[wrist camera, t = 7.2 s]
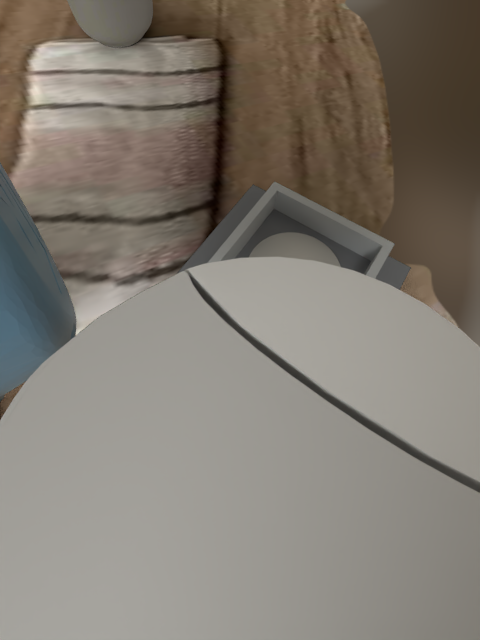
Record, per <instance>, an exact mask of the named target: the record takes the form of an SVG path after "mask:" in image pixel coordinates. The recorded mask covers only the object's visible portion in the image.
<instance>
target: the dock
mask: <svg viewBox="0 0 480 640" xmlns="http://www.w3.org/2000/svg"><path fill="white" fill-rule="evenodd" d="M393 246H394V243H392V242H390V241H388V240H386V239H384V238H383V237H381V236H379V235H377V234H375V233H373V232H371V231H369V230H367V229H365V228H363V227H361V226H359V225H357V224H356V223H354V222H352V221H350V220H348V219H346V218H344V217H342V216H340V215H338V214H336V213H334V212H332V211H331V210H329V209H327V208H325V207H323V206H321V205H319V204H317V203H315V202H313V201H311V200H309V199H307V198H305V197H304V196H302V195H300V194H298V193H296V192H294V191H292V190H290V189H288V188H286V187H284V186H282V185H280V184H278V183H277V182H275V181H274V183H273V184H272V185H271V186H270V188H269V189H268V190H267V191H265V190H263V189H261V188H259V187H257V186H255V185H252V186H251V187H250V189H249V190H248V191H247V192H246V193H245V194H244V196H243V197H242V198H241V199H240V200H239V201H238V203H237V204H236V205H235V206H234V207H233V208H232V210H231V211H230V212H229V213H228V214H227V215H226V217H225V218H224V219H223V220H222V221H221V222H220V224H219V225H218V226H217V227H216V228H215V230H214V231H213V232H212V233H211V234H210V235H209V237H208V238H207V239H206V240H205V241H204V242H203V244H202V245H201V246H200V247H199V248H198V249H197V251H196V252H195V253H194V254H193V255H192V256H191V258H190V259H189V260H188V261H187V262H186V263H185V265H184V266H183V267H182V268H181V269H180V270H179V272H178V273H180V272H182V271H184V270H186V269H189V268H192V267H195V266H198V265H201V264H206V263H212V262H218V261H224V260H230V259H236V258H250V257H285V258H294V259H303V260H312V261H318V262H322V263H326V264H330V265H334V266H338V267H342V268H346V269H350V270H354V271H356V272H359V273H361V274H364V275H366V276H369V277H372V278H374V279H377V280H379V281H382V282H384V283H387V284H389V285H391V286H393V287H395V288H397V289H399V290H400V288H401V286H402V284H403V282H404V280H405V278H406V276H407V274H408V272H409V270H410V269H411V268H410V267H409V266H407V265H405V264H403V263H401V262H399V261H397V260H395V259H393V258H392V257H390V256H388V255H389V253H390V251H391V250H392V248H393ZM178 273H177V274H178Z"/></svg>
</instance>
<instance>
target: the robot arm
mask: <svg viewBox="0 0 480 640" xmlns="http://www.w3.org/2000/svg"><path fill="white" fill-rule="evenodd" d="M75 334H76V315H75V311H74V307H73V304H72V301H71V298H70V296H69V293H68V291H67V288H66V286H65V284H64V281H63V279H62V277H61V275H60V273H59V271H58V269H57V267H56V265H55V263H54V261H53V258H52V256H51V254H50V252H49V250H48V248H47V246H46V245H45V243H44V241H43V239H42V237H41V235H40V233H39V231H38V229H37V227H36V225H35V224H34V222H33V220H32V218H31V216H30V214H29V213H28V211H27V209H26V207H25V205H24V203H23V202H22V200H21V198H20V196H19V195H18V193H17V191H16V189H15V187H14V186H13V184H12V182H11V180H10V179H9V177H8V175H7V173H6V172H5V170H4V168H3V167H2V165H1V163H0V401H1V400H2V399H3V398H4V395H5V394H6V393H8V392H9V391H11V390H13V389H14V388H16V387H17V386H19V385H20V384H22V383H24V382H25V381H27V380H28V378H29V377H30V376H31V375H32V374H33V373H34V372H35V371H36V370H37V369H38V368H39V367H40V365H41V364H42V363H43V362H44V361H46V360H47V359H48V358H49V357H50V356H52V355H53V354H54V353H55V352H56V351H58V350H59V349H60V348H61V347H63V346H64V345H65V344H66V343H67V342H69V341H70V340H71V339H72V338H74V337H75Z"/></svg>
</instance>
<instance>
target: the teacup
mask: <svg viewBox="0 0 480 640" xmlns="http://www.w3.org/2000/svg"><path fill="white" fill-rule="evenodd" d="M67 1H68V3H69V6H70V8H71V10H72V12H73V15H74V17H75V19H76V21H77V22H78V24H79V26H80V27H81V28H82V30H83V31H84V32H85V33H86V34H87V35H89V36H90V37H91V38H93V39H95V40H97V41H99V42H100V43H102V44H104V45H106V46H110V47H116V48H122V47H127V46H130V45H133V44H135V43H137V42H138V41H139V40H140V39H141V38H142V37H143V35H144V34H145V32H146V31H147V30H148V28H149V27H150V24H151V22H152V17H153V4H152V0H67Z"/></svg>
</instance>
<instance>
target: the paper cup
mask: <svg viewBox="0 0 480 640" xmlns="http://www.w3.org/2000/svg"><path fill="white" fill-rule="evenodd" d="M0 640H480V347H479V346H478V345H477V344H476V343H475V342H474V341H472V340H471V339H470V338H469V337H468V336H467V335H466V334H465V333H464V332H463V331H462V330H460V329H459V328H458V327H456V326H455V325H454V324H452V323H451V322H449V321H448V320H447V319H445V318H444V317H443V316H441V315H440V314H438V313H437V312H436V311H434V310H433V309H431V308H430V307H429V306H427V305H426V304H424V303H422V302H421V301H419V300H417V299H415V298H413V297H411V296H410V295H408V294H406V293H404V292H402V291H400V290H399V289H397V288H395V287H393V286H391V285H389V284H387V283H384V282H382V281H379V280H377V279H374V278H372V277H369V276H366V275H364V274H361V273H359V272H356V271H354V270H350V269H346V268H342V267H338V266H334V265H330V264H326V263H322V262H318V261H312V260H303V259H294V258H285V257H250V258H236V259H230V260H224V261H218V262H212V263H206V264H201V265H198V266H195V267H192V268H189V269H186V270H184V271H182V272H180V273H178V274H176V275H174V276H172V277H170V278H168V279H166V280H164V281H162V282H160V283H158V284H156V285H154V286H152V287H150V288H148V289H146V290H144V291H142V292H140V293H139V294H137V295H135V296H133V297H132V298H130V299H128V300H127V301H125V302H123V303H122V304H120V305H118V306H117V307H115V308H113V309H111V310H110V311H108V312H106V313H105V314H103V315H101V316H100V317H98V318H97V319H96V320H94V321H93V322H92V323H91V324H89V325H88V326H87V327H86V328H85V329H83V330H82V331H81V332H80V333H78V334H77V335H76V336H75V337H74V338H72V339H71V340H70V341H69V342H67V343H66V344H65V345H64V346H63V347H61V348H60V349H59V350H58V351H56V352H55V353H54V354H53V355H52V356H50V357H49V358H48V359H47V360H46V361H44V362H43V363H42V364H41V365H40V367H39V368H38V369H37V370H36V371H35V372H34V373H33V374H32V375H31V376H30V377H29V378H28V380H27V381H26V382H25V384H24V385H23V386H22V388H21V389H20V391H19V392H18V393H17V395H16V396H15V397H14V399H13V401H12V402H11V404H10V405H9V407H8V409H7V410H6V412H5V413H4V415H3V417H2V418H1V420H0Z"/></svg>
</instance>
